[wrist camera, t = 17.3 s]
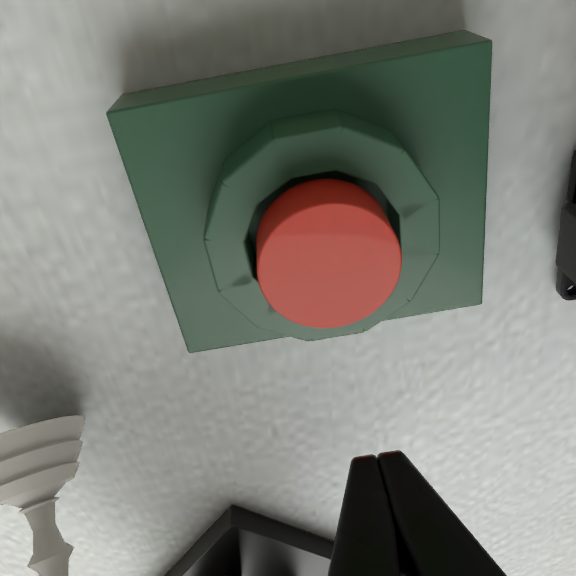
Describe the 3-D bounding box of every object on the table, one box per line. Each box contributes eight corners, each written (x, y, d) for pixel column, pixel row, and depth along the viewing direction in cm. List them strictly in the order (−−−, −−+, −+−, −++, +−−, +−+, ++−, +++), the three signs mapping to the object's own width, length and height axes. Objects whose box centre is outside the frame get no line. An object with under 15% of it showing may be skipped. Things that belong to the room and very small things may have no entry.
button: (384, 166, 15) (399, 190, 13) (392, 284, 17) (405, 316, 16) (243, 191, 15) (242, 217, 14) (269, 305, 17) (271, 339, 16)
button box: (466, 29, 16) (521, 49, 13) (462, 274, 21) (502, 334, 18) (120, 94, 17) (88, 130, 14) (193, 319, 22) (183, 387, 18)
